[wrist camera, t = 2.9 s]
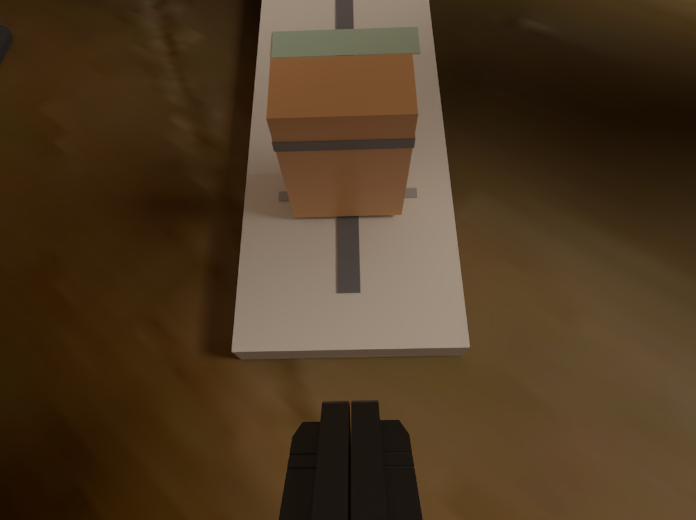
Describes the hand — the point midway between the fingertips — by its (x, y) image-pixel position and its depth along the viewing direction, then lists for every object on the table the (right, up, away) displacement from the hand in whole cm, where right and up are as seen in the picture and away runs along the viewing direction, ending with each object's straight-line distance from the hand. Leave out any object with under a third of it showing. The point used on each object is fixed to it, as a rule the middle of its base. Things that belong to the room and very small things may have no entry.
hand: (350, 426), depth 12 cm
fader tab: (0, +8, +14) cm, 16 cm away
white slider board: (0, +13, +18) cm, 23 cm away
